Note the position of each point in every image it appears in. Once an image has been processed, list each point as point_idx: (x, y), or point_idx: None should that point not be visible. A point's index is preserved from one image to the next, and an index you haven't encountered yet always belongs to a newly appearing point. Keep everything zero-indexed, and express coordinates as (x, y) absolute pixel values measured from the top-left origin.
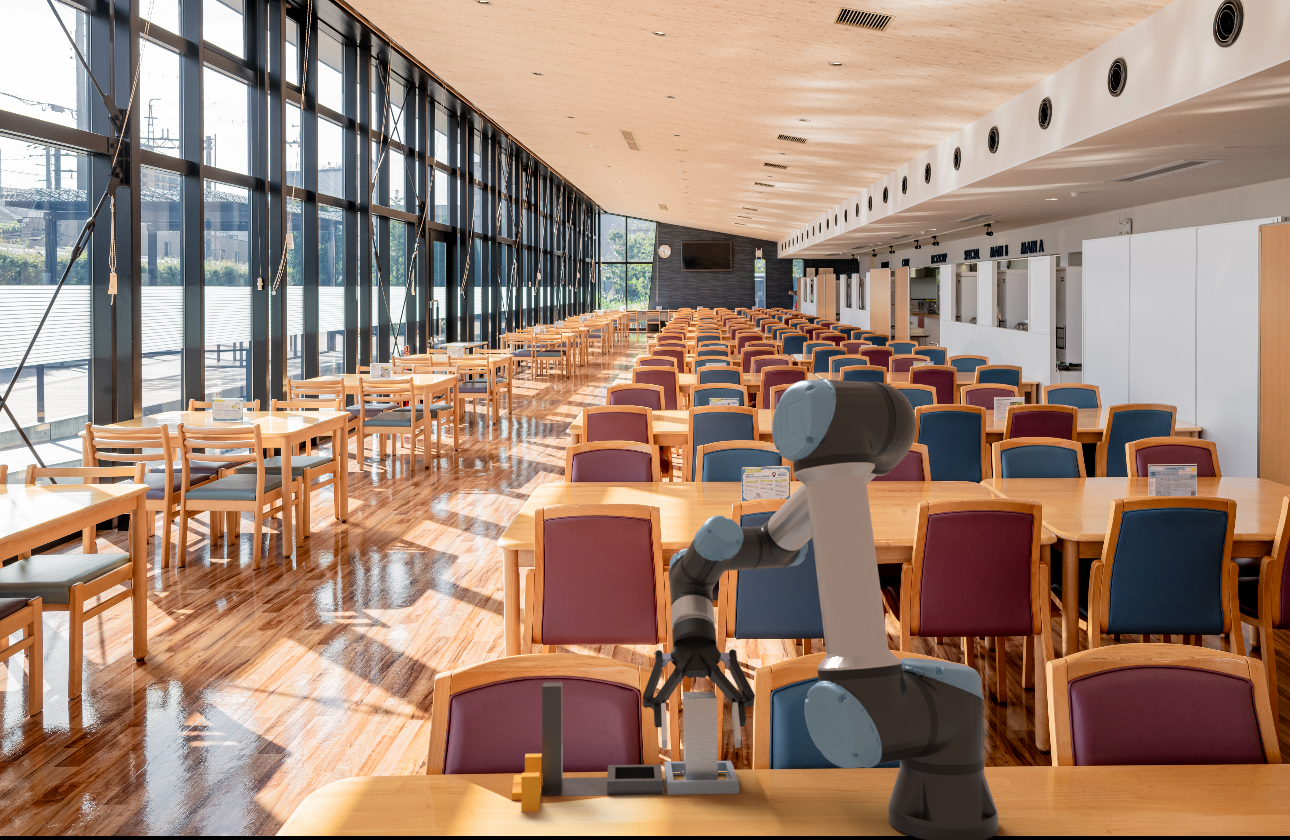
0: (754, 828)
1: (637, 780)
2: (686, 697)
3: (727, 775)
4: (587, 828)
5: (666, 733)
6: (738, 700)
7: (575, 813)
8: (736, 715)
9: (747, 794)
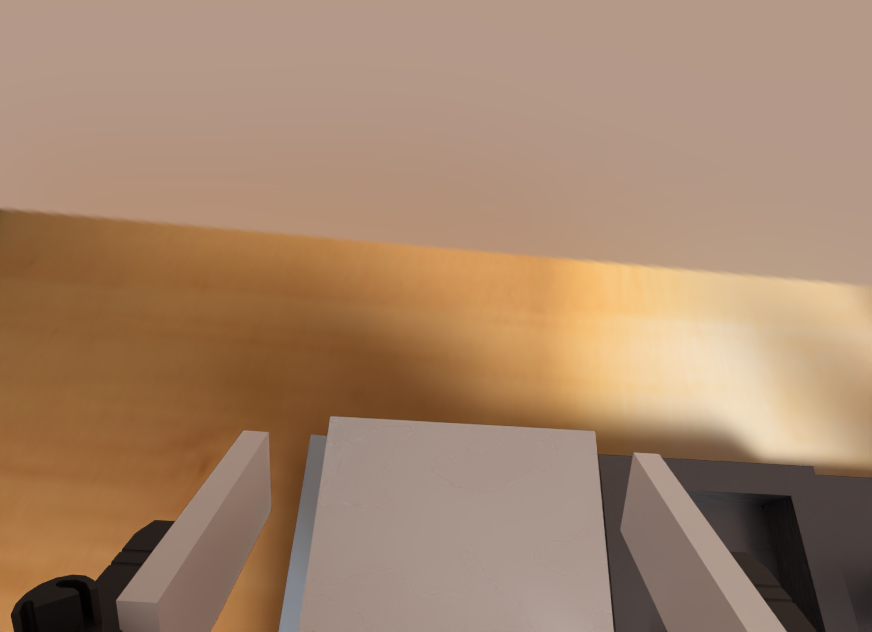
0: (338, 244)
1: (698, 466)
2: (584, 483)
3: None
4: (768, 283)
5: (649, 471)
6: (98, 605)
7: (840, 394)
8: (195, 518)
9: (271, 527)
